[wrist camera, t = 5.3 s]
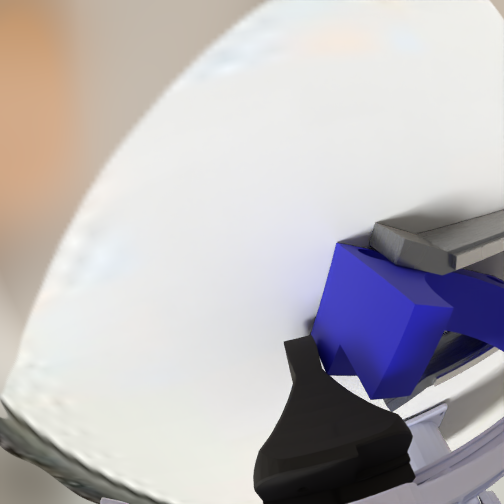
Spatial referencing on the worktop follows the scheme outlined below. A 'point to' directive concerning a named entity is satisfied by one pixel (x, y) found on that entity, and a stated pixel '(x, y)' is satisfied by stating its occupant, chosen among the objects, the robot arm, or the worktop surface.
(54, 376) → the worktop surface
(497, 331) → the cable clip
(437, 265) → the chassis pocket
